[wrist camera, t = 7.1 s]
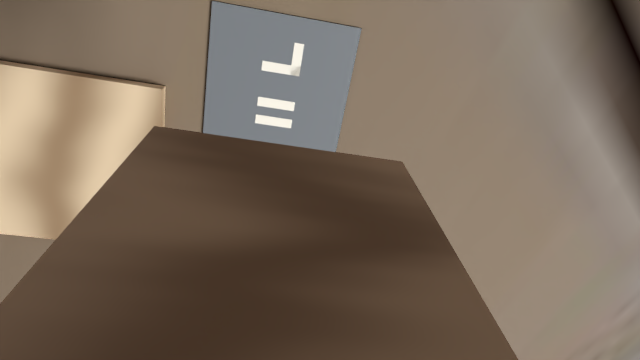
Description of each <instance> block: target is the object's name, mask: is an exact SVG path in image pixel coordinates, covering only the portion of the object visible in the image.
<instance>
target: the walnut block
mask: <svg viewBox="0 0 640 360" xmlns="http://www.w3.org/2000/svg"><path fill="white" fill-rule="evenodd" d="M0 360H518V358H517V357H516V355H515V353H514V352H513V350H512V348H511V347H510V345H509V343H508V341H507V340H506V338H505V336H504V335H503V333H502V331H501V329H500V328H499V326H498V324H497V323H496V321H495V319H494V318H493V316H492V314H491V312H490V311H489V309H488V307H487V306H486V304H485V302H484V300H483V299H482V297H481V295H480V294H479V292H478V290H477V289H476V287H475V285H474V283H473V282H472V280H471V278H470V277H469V275H468V273H467V272H466V270H465V268H464V266H463V265H462V263H461V261H460V260H459V258H458V256H457V254H456V253H455V251H454V249H453V248H452V246H451V244H450V243H449V241H448V239H447V237H446V236H445V234H444V232H443V231H442V229H441V227H440V225H439V224H438V222H437V220H436V219H435V217H434V215H433V214H432V212H431V210H430V208H429V207H428V205H427V203H426V202H425V200H424V198H423V196H422V195H421V193H420V191H419V190H418V188H417V186H416V185H415V183H414V181H413V179H412V178H411V176H410V174H409V173H408V171H407V169H406V167H405V166H404V164H403V162H401V161H394V160H387V159H380V158H373V157H366V156H359V155H352V154H345V153H338V152H331V151H324V150H318V149H311V148H304V147H297V146H290V145H283V144H276V143H269V142H262V141H255V140H248V139H241V138H234V137H228V136H221V135H214V134H207V133H200V132H193V131H186V130H179V129H172V128H165V127H158V126H154V127H153V128H152V129H151V130H150V132H149V133H148V134H147V135H146V136H145V137H144V138H143V140H142V141H141V142H140V143H139V144H138V145H137V147H136V148H135V149H134V150H133V151H132V152H131V154H130V155H129V156H128V157H127V158H126V159H125V160H124V162H123V163H122V164H121V165H120V166H119V167H118V169H117V170H116V171H115V172H114V173H113V174H112V175H111V177H110V178H109V179H108V180H107V181H106V182H105V184H104V185H103V186H102V187H101V188H100V189H99V190H98V192H97V193H96V194H95V195H94V196H93V197H92V199H91V200H90V201H89V202H88V203H87V204H86V205H85V207H84V208H83V209H82V210H81V211H80V212H79V214H78V215H77V216H76V217H75V218H74V219H73V220H72V222H71V223H70V224H69V225H68V226H67V227H66V229H65V230H64V231H63V232H62V233H61V234H60V235H59V237H58V238H57V239H56V240H55V241H54V242H53V244H52V245H51V246H50V247H49V248H48V249H47V250H46V252H45V253H44V254H43V255H42V256H41V257H40V259H39V260H38V261H37V262H36V263H35V264H34V265H33V267H32V268H31V269H30V270H29V271H28V272H27V274H26V275H25V276H24V277H23V278H22V279H21V280H20V282H19V283H18V284H17V285H16V286H15V287H14V289H13V290H12V291H11V292H10V293H9V294H8V295H7V297H6V298H5V299H4V300H3V301H2V302H1V304H0Z"/></svg>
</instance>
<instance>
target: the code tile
mask: <svg viewBox="0 0 640 360" xmlns="http://www.w3.org/2000/svg"><path fill="white" fill-rule="evenodd" d="M360 33H361V28H356V27H351V26H346V25H340V24H335V23H329V22H324V21H319V20H313V19H308V18H302V17H297V16H291V15H286V14H281V13H275V12H270V11H264V10H259V9H254V8H248V7H243V6H237V5H232V4H227V3H221V2H216V1H212V9H211V23H210V38H209V52H208V67H207V82H206V96H205V111H204V125H203V133H207V134H214V135H221V136H228V137H234V138H241V139H248V140H255V141H262V142H269V143H276V144H283V145H290V146H297V147H304V148H311V149H318V150H324V151H331V152H336V148H337V143H338V138H339V134H340V129H341V124H342V119H343V115H344V110H345V105H346V100H347V95H348V91H349V86H350V81H351V76H352V71H353V67H354V62H355V57H356V52H357V48H358V43H359V38H360Z"/></svg>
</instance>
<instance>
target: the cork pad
mask: <svg viewBox="0 0 640 360" xmlns="http://www.w3.org/2000/svg"><path fill="white" fill-rule="evenodd" d="M165 91H166V86H161V85H154V84H148V83H142V82H135V81H129V80H122V79H116V78H110V77H103V76H97V75H90V74H84V73H78V72H71V71H65V70H58V69H52V68H46V67H39V66H33V65H26V64H20V63H14V62H7V61H1V60H0V234H8V235H18V236H27V237H36V238H46V239H55V240H56V239H57V238H58V237H59V235H60V234H61V233H62V232H63V231H64V230H65V229H66V227H67V226H68V225H69V224H70V223H71V222H72V220H73V219H74V218H75V217H76V216H77V215H78V214H79V212H80V211H81V210H82V209H83V208H84V207H85V205H86V204H87V203H88V202H89V201H90V200H91V199H92V197H93V196H94V195H95V194H96V193H97V192H98V190H99V189H100V188H101V187H102V186H103V185H104V184H105V182H106V181H107V180H108V179H109V178H110V177H111V175H112V174H113V173H114V172H115V171H116V170H117V169H118V167H119V166H120V165H121V164H122V163H123V162H124V160H125V159H126V158H127V157H128V156H129V155H130V154H131V152H132V151H133V150H134V149H135V148H136V147H137V145H138V144H139V143H140V142H141V141H142V140H143V138H144V137H145V136H146V135H147V134H148V133H149V132H150V130H151V129H152V128H153V127H154V126H158V127H164V126H165Z"/></svg>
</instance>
